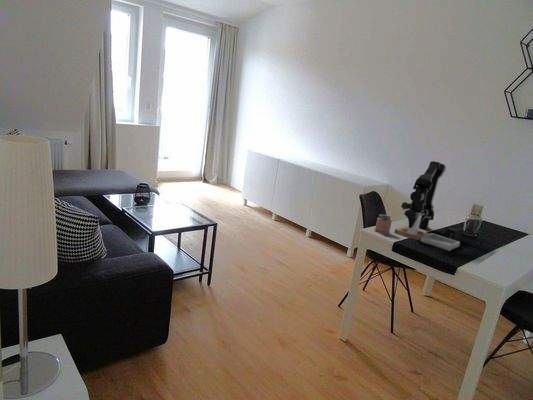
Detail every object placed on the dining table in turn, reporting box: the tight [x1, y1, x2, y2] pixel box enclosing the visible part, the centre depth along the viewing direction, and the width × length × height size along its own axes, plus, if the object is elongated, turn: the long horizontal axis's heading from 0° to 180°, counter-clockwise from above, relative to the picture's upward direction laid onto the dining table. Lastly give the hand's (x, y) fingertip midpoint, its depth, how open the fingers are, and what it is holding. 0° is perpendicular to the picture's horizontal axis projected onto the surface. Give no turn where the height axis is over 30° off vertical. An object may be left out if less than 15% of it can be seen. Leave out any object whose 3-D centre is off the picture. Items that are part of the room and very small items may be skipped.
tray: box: [420, 232, 461, 252], centre depth 198 cm, size 15×15×3 cm
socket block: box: [394, 226, 430, 241], centre depth 208 cm, size 14×14×2 cm
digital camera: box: [444, 226, 465, 242], centre depth 208 cm, size 10×5×7 cm, turn 127°
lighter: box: [374, 213, 393, 235], centre depth 205 cm, size 8×3×10 cm, turn 84°
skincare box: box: [406, 214, 422, 236], centre depth 207 cm, size 6×4×12 cm
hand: (413, 227), depth 207 cm, fingers closed on skincare box, 8 cm apart
